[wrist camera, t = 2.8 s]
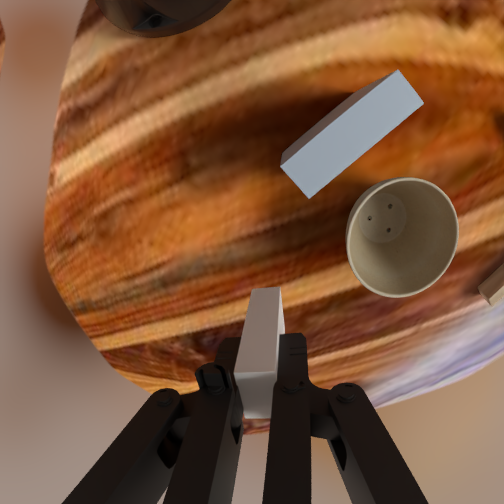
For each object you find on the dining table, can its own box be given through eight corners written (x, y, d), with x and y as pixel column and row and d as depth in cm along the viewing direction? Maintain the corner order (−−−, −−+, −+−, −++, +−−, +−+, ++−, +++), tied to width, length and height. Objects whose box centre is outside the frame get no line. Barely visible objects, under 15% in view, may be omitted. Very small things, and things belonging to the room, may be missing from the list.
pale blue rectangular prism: (282, 152, 28) (280, 166, 17) (354, 92, 25) (398, 69, 14) (299, 172, 28) (309, 198, 17) (371, 112, 25) (424, 103, 14)
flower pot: (372, 281, 32) (391, 318, 25) (312, 212, 30) (319, 237, 23) (442, 221, 28) (476, 245, 22) (388, 145, 26) (417, 150, 20)
